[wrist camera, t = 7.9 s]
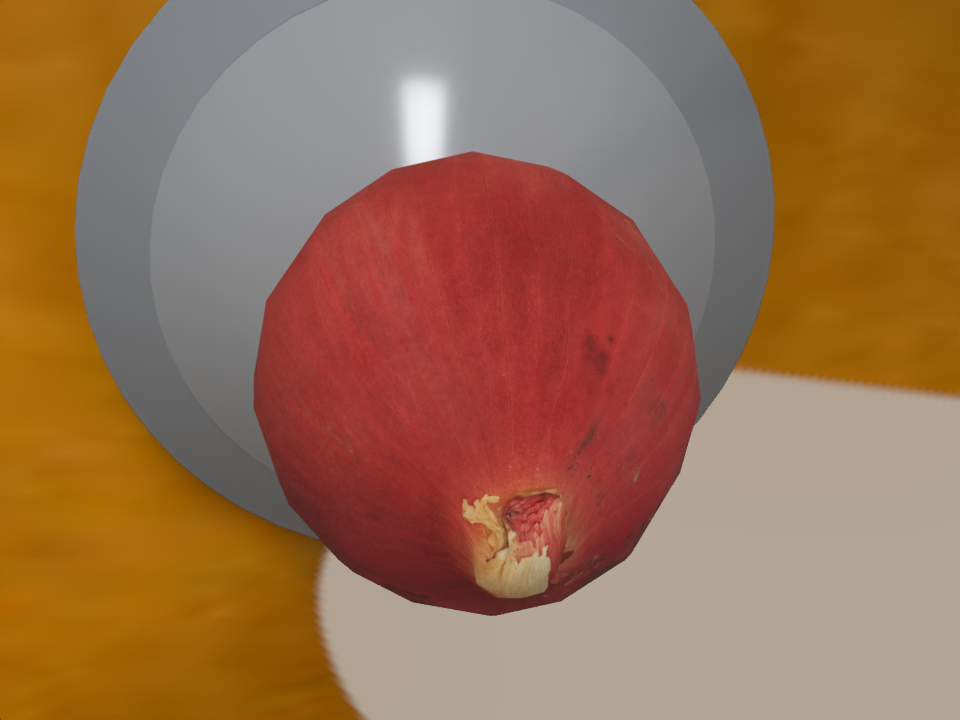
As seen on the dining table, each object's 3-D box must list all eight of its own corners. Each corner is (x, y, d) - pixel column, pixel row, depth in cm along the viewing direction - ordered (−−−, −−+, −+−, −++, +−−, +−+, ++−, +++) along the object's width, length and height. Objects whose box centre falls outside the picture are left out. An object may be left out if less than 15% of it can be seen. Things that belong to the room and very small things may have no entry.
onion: (670, 314, 17) (914, 627, 9) (407, 477, 17) (450, 879, 10) (502, 29, 14) (665, 168, 7) (201, 237, 15) (71, 553, 8)
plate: (770, -142, 15) (813, -145, 13) (730, 475, 20) (757, 516, 19) (-1, -79, 14) (-38, -76, 12) (178, 554, 19) (167, 602, 18)
